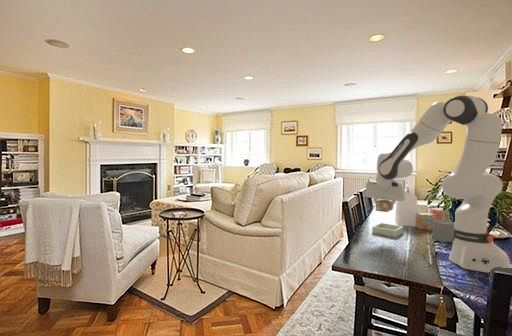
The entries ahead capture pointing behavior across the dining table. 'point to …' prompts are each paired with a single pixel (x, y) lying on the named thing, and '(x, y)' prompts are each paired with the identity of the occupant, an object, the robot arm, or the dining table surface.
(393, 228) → the sage crate
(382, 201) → the pine crate
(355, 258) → the dining table surface
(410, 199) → the milk
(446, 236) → the coffee mug
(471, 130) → the robot arm
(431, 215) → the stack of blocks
